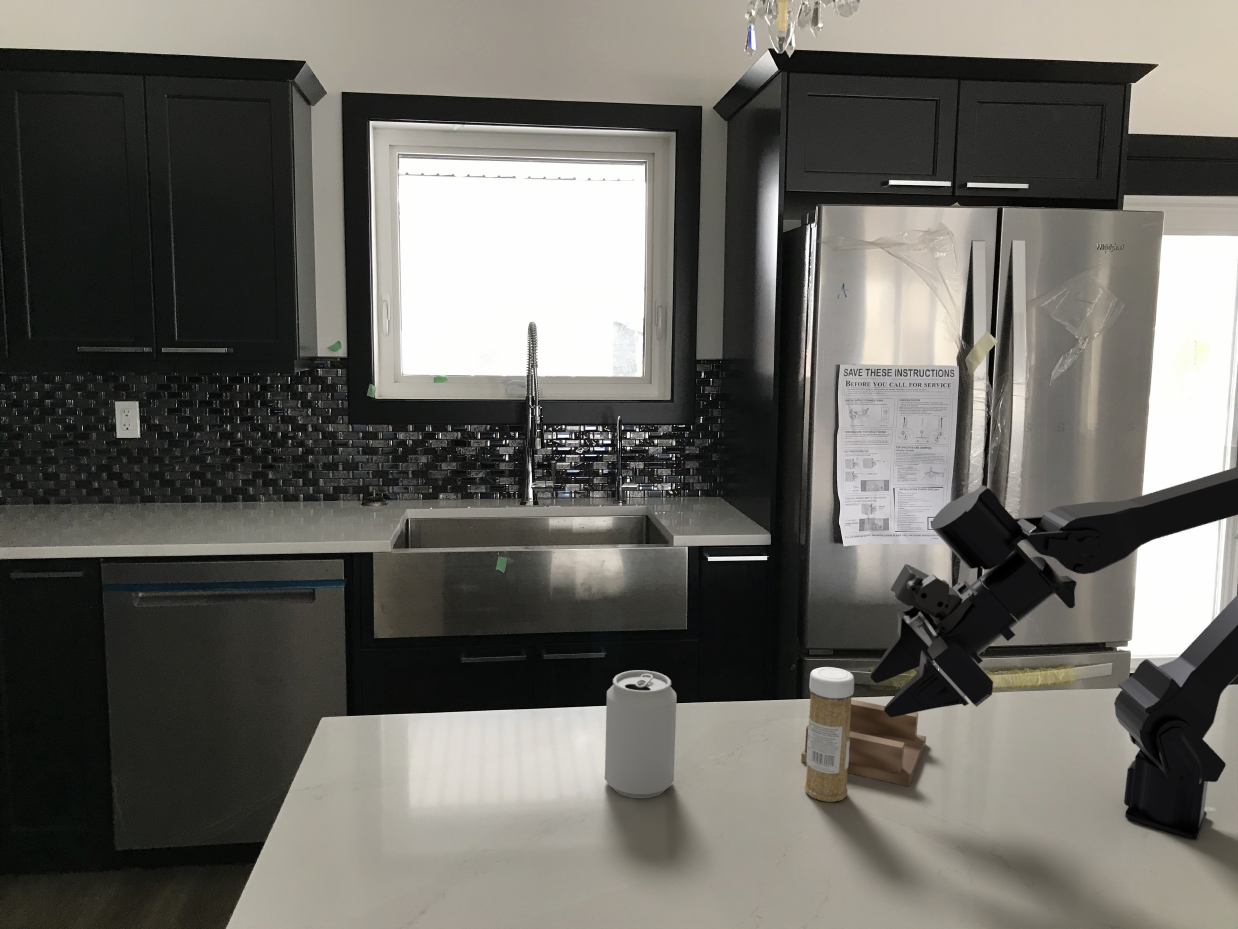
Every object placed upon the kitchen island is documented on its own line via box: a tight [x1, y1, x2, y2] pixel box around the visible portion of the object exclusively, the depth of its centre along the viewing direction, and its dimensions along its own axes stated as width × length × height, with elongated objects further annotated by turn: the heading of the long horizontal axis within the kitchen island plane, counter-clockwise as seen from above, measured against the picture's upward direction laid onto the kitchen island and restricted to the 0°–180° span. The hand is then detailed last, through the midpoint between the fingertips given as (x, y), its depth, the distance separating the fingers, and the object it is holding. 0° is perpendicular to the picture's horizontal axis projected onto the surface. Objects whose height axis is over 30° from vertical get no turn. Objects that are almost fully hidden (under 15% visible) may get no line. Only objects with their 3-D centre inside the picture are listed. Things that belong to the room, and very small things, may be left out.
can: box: [604, 669, 677, 799], centre depth 100 cm, size 8×8×12 cm
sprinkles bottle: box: [804, 666, 855, 803], centre depth 100 cm, size 5×5×13 cm
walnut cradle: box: [800, 698, 927, 787], centre depth 110 cm, size 12×12×4 cm
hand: (879, 695), depth 98 cm, fingers open, 9 cm apart
